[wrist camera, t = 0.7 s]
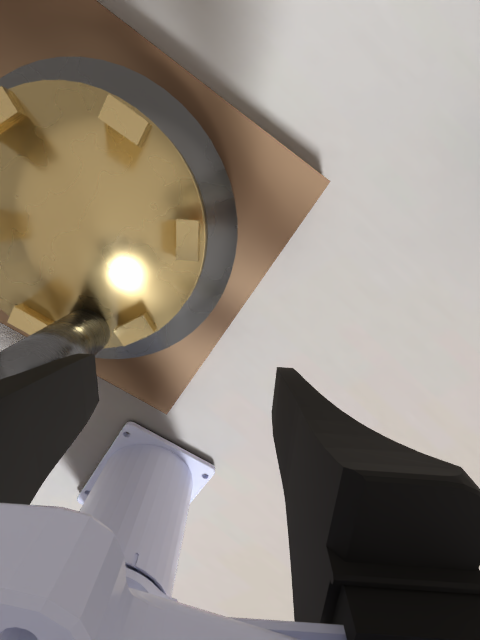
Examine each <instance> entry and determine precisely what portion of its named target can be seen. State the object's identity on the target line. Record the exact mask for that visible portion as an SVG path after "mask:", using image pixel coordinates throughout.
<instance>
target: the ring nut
mask: <svg viewBox="0 0 480 640" xmlns="http://www.w3.org/2000/svg"><path fill="white" fill-rule="evenodd" d="M207 244H208V223H207V216H206V210H205V205H204V201H203V198H202V194H201V191H200V188H199V186H198V183H197V181H196V179H195V176H194V174H193V172H192V170H191V169H190V167H189V165H188V163H187V162H186V160H185V158H184V157H183V155H182V154H181V153H180V151H179V150H178V149H177V147H176V146H175V145H174V143H173V142H172V141H171V140H170V139H169V138H168V137H167V136H166V135H165V134H164V133H163V132H162V131H161V130H160V129H159V128H158V127H157V126H156V125H155V124H154V123H153V122H152V121H151V120H150V119H149V118H148V117H146V116H145V115H144V114H143V113H142V112H140V111H139V110H138V109H137V108H135V107H134V106H132V105H131V104H129V103H127V102H126V101H124V100H123V99H121V98H120V97H118V96H116V95H113V94H111V93H109V92H107V91H105V90H103V89H100V88H97V87H94V86H90V85H87V84H84V83H80V82H73V81H66V80H40V81H34V82H29V83H24V84H21V85H18V86H15V87H13V88H10V89H7V88H5V87H3V86H0V309H1V310H2V311H3V312H5V313H6V314H7V315H9V316H10V317H9V319H8V321H7V322H8V323H9V324H11V325H13V326H15V327H17V328H18V329H20V330H22V331H24V332H26V333H27V334H29V335H30V336H28V337H26V338H24V339H23V340H21V341H19V342H17V343H15V344H14V345H12V346H10V347H8V348H6V349H5V350H3V351H1V352H0V379H3V378H6V377H9V376H12V375H15V374H18V373H21V372H24V371H27V370H30V369H33V368H35V367H38V366H41V365H44V364H46V363H49V362H52V361H55V360H58V359H60V358H63V357H67V356H70V355H74V354H78V353H81V354H95V355H96V354H97V353H99V352H100V351H101V350H102V349H104V348H112V347H119V346H126V345H128V344H131V343H134V342H136V341H139V340H142V339H144V338H146V337H148V336H150V335H151V334H153V333H155V332H157V331H158V330H159V329H161V328H162V327H163V326H164V325H166V324H167V323H168V322H169V321H170V320H171V319H172V318H173V317H174V316H175V315H176V314H177V313H178V312H179V311H180V309H181V308H182V306H183V305H184V304H185V302H186V301H187V300H188V298H189V297H190V295H191V294H192V292H193V290H194V288H195V287H196V285H197V283H198V281H199V278H200V275H201V273H202V270H203V267H204V263H205V258H206V254H207Z"/></svg>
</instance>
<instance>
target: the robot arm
mask: <svg viewBox="0 0 480 640" xmlns="http://www.w3.org/2000/svg"><path fill="white" fill-rule="evenodd" d="M98 402H99V396H98V385H97V374H96V363H95V354H81V353H78V354H74V355H70V356H67V357H63V358H60V359H58V360H55V361H52V362H49V363H46V364H44V365H41V366H38V367H35V368H33V369H30V370H27V371H24V372H21V373H18V374H15V375H12V376H9V377H6V378H3V379H0V640H480V570H479V565H480V489H479V487H478V486H477V485H476V484H475V483H474V482H473V480H472V479H471V478H470V477H469V476H468V475H467V473H466V472H465V471H464V470H463V469H462V468H461V467H459V466H456V465H453V464H451V463H448V462H445V461H442V460H439V459H437V458H434V457H431V456H428V455H425V454H423V453H420V452H418V451H415V450H413V449H411V448H408V447H406V446H404V445H402V444H399V443H397V442H395V441H393V440H391V439H389V438H387V437H385V436H383V435H381V434H379V433H377V432H375V431H373V430H372V429H370V428H368V427H366V426H364V425H363V424H361V423H359V422H358V421H356V420H355V419H353V418H352V417H350V416H349V415H347V414H346V413H344V412H343V411H341V410H340V409H339V408H337V407H336V406H335V405H333V404H332V403H331V402H330V401H328V400H327V399H326V398H325V397H324V396H322V395H321V394H320V393H319V392H318V391H317V390H316V389H314V388H313V387H312V386H311V385H310V384H309V383H308V382H307V381H306V380H305V379H304V378H303V377H302V376H301V375H300V374H299V373H298V372H297V371H296V370H294V369H293V368H282V367H277V372H276V381H275V389H274V398H273V406H272V426H273V437H274V443H275V448H276V453H277V459H278V464H279V469H280V474H281V479H282V484H283V489H284V496H285V503H286V514H287V525H288V536H289V548H290V561H291V574H292V589H293V603H294V619H295V622H292V621H277V620H262V619H247V618H232V617H225V616H222V615H218V614H215V613H212V612H209V611H205V610H202V609H199V608H195V607H192V606H189V605H186V604H182V603H179V602H178V601H177V599H175V598H172V597H171V596H172V591H173V586H174V581H175V576H176V571H177V566H178V561H179V556H180V550H181V545H182V540H183V535H184V530H185V525H186V520H187V515H188V510H189V505H190V503H191V502H192V500H193V499H194V498H195V497H196V495H197V494H198V493H199V492H200V491H201V489H202V488H203V487H204V486H205V485H206V483H207V482H208V481H209V480H210V479H211V477H212V476H213V475H214V473H215V467H214V466H213V465H212V464H210V463H208V462H207V461H205V460H203V459H201V458H199V457H197V456H195V455H194V454H192V453H190V452H188V451H186V450H184V449H182V448H181V447H179V446H177V445H175V444H173V443H171V442H169V441H168V440H166V439H164V438H162V437H160V436H158V435H156V434H155V433H153V432H151V431H149V430H147V429H145V428H143V427H142V426H140V425H138V424H136V423H134V422H127V423H126V424H125V425H124V427H123V428H122V430H121V431H120V433H119V434H118V436H117V437H116V439H115V441H114V442H113V444H112V445H111V447H110V448H109V450H108V451H107V453H106V454H105V456H104V457H103V459H102V460H101V462H100V463H99V465H98V466H97V468H96V469H95V471H94V473H93V474H92V476H91V477H90V479H89V480H88V482H87V483H86V485H85V486H84V488H83V489H82V491H81V492H80V494H79V496H78V497H77V501H78V502H79V503H80V504H82V507H81V509H80V511H75V510H71V509H68V508H64V507H54V506H39V505H30V503H31V501H32V500H33V498H34V496H35V495H36V493H37V492H38V490H39V488H40V487H41V485H42V484H43V482H44V481H45V479H46V478H47V476H48V475H49V473H50V472H51V471H52V469H53V468H54V467H55V465H56V464H57V463H58V461H59V460H60V459H61V457H62V456H63V455H64V453H65V452H66V451H67V449H68V448H69V447H70V445H71V444H72V443H73V441H74V440H75V439H76V437H77V436H78V435H79V433H80V432H81V431H82V429H83V428H84V426H85V425H86V424H87V422H88V420H89V419H90V417H91V415H92V413H93V411H94V409H95V407H96V405H97V404H98ZM126 432H129V433H130V434H127V433H126ZM205 474H207V475H205Z"/></svg>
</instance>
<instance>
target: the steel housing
mask: <svg viewBox="0 0 480 640" xmlns="http://www.w3.org/2000/svg"><path fill="white" fill-rule="evenodd" d="M40 80H66V81H73V82H80V83H84V84H87V85H90V86H94V87H97V88H100V89H103V90H105V91H107V92H109V93H111V94H113V95H116V96H118V97H120V98H121V99H123V100H124V101H126V102H127V103H129V104H131V105H132V106H134V107H135V108H137V109H138V110H139V111H140V112H142V113H143V114H144V115H145V116H146V117H148V118H149V119H150V120H151V121H152V122H153V123H154V124H155V125H156V126H157V127H158V128H159V129H160V130H161V131H162V132H163V133H164V134H165V135H166V136H167V137H168V138H169V139H170V140H171V141H172V142H173V143H174V145H175V146H176V147H177V149H178V150H179V151H180V153H181V154H182V155H183V157H184V158H185V160H186V162H187V163H188V165H189V167H190V169H191V170H192V172H193V174H194V176H195V179H196V181H197V183H198V186H199V188H200V191H201V194H202V198H203V201H204V205H205V210H206V216H207V223H208V244H207V254H206V258H205V263H204V267H203V270H202V273H201V275H200V278H199V281H198V283H197V285H196V287H195V288H194V290H193V292H192V294H191V295H190V297H189V298H188V300H187V301H186V302H185V304H184V305H183V306H182V308H181V309H180V311H179V312H178V313H177V314H176V315H175V316H174V317H173V318H172V319H171V320H170V321H169V322H168V323H167V324H166V325H164V326H163V327H162V328H161V329H159V330H158V331H157V332H155V333H153V334H151V335H150V336H148V337H146V338H144V339H142V340H139V341H136V342H134V343H131V344H128V345H126V346H119V347H112V348H104V349H102V350H101V351H100V352H99V353H97V354H96V355H95V358H102V359H127V358H136V357H141V356H145V355H149V354H153V353H156V352H158V351H161V350H163V349H166V348H168V347H170V346H172V345H174V344H175V343H177V342H179V341H181V340H182V339H184V338H185V337H186V336H188V335H189V334H190V333H192V332H193V331H194V330H195V329H196V328H197V327H198V326H199V325H200V324H201V323H202V322H203V321H205V319H206V318H207V317H208V316H209V314H210V313H211V312H212V310H213V309H214V308H215V306H216V305H217V303H218V301H219V299H220V298H221V296H222V294H223V292H224V290H225V288H226V285H227V283H228V280H229V278H230V275H231V271H232V267H233V264H234V260H235V256H236V248H237V240H238V218H237V210H236V202H235V198H234V194H233V190H232V186H231V183H230V180H229V177H228V175H227V172H226V170H225V167H224V164H223V162H222V160H221V158H220V156H219V154H218V153H217V151H216V149H215V147H214V145H213V143H212V141H211V140H210V138H209V137H208V135H207V134H206V132H205V131H204V130H203V128H202V127H201V125H200V124H199V123H198V121H197V120H196V119H195V118H194V117H193V116H192V115H191V113H190V112H189V111H188V110H187V109H186V108H185V107H184V106H183V105H182V104H181V103H180V102H179V101H178V100H177V99H175V98H174V97H173V96H172V95H171V94H170V93H168V92H167V91H166V90H165V89H164V88H162V87H161V86H159V85H157V84H156V83H154V82H153V81H151V80H150V79H148V78H147V77H145V76H143V75H141V74H139V73H137V72H135V71H133V70H131V69H128V68H126V67H124V66H121V65H118V64H114V63H111V62H108V61H105V60H100V59H94V58H87V57H55V58H49V59H44V60H38V61H35V62H33V63H30V64H27V65H24V66H21V67H19V68H17V69H15V70H13V71H12V72H10V73H8V74H6V75H5V76H3V77H1V78H0V86H3V87H5V88H7V89H10V88H13V87H15V86H18V85H21V84H24V83H29V82H34V81H40ZM8 316H9V315H8Z"/></svg>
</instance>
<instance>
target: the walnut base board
mask: <svg viewBox="0 0 480 640" xmlns="http://www.w3.org/2000/svg"><path fill="white" fill-rule="evenodd" d="M55 57H87V58H94V59H100V60H105V61H108V62H111V63H114V64H118V65H121V66H124V67H126V68H128V69H131V70H133V71H135V72H137V73H139V74H141V75H143V76H145V77H147V78H148V79H150V80H151V81H153V82H154V83H156V84H157V85H159V86H161V87H162V88H164V89H165V90H166V91H167V92H168V93H170V94H171V95H172V96H173V97H174V98H175V99H177V100H178V101H179V102H180V103H181V104H182V105H183V106H184V107H185V108H186V109H187V110H188V111H189V112H190V113H191V115H192V116H193V117H194V118H195V119H196V120H197V121H198V123H199V124H200V125H201V127H202V128H203V130H204V131H205V132H206V134H207V135H208V137H209V138H210V140H211V141H212V143H213V145H214V147H215V149H216V151H217V153H218V154H219V156H220V158H221V160H222V162H223V164H224V167H225V170H226V172H227V175H228V177H229V180H230V183H231V186H232V190H233V194H234V198H235V202H236V210H237V218H238V240H237V248H236V256H235V260H234V264H233V267H232V271H231V275H230V278H229V280H228V283H227V285H226V288H225V290H224V292H223V294H222V296H221V298H220V299H219V301H218V303H217V305H216V306H215V308H214V309H213V310H212V312H211V313H210V314H209V316H208V317H207V318H206V319H205V321H203V322H202V323H201V324H200V325H199V326H198V327H197V328H196V329H195V330H194V331H193V332H192V333H190V334H189V335H188V336H186V337H185V338H184V339H182V340H181V341H179V342H177V343H175V344H174V345H172V346H170V347H168V348H166V349H163V350H161V351H158V352H156V353H153V354H149V355H145V356H141V357H136V358H127V359H102V358H95V363H96V374H97V376H98V377H100V378H102V379H104V380H105V381H107V382H109V383H111V384H113V385H114V386H116V387H118V388H120V389H122V390H123V391H125V392H127V393H129V394H131V395H132V396H134V397H136V398H138V399H140V400H142V401H143V402H145V403H147V404H149V405H151V406H152V407H154V408H156V409H158V410H160V411H161V412H163V413H165V414H168V412H169V411H170V409H171V408H172V406H173V405H174V404H175V402H176V401H177V399H178V398H179V396H180V395H181V394H182V392H183V391H184V389H185V388H186V386H187V385H188V384H189V382H190V381H191V379H192V378H193V376H194V375H195V374H196V372H197V371H198V369H199V368H200V366H201V365H202V364H203V362H204V361H205V359H206V358H207V357H208V355H209V354H210V352H211V351H212V349H213V348H214V347H215V345H216V344H217V342H218V341H219V339H220V338H221V337H222V335H223V334H224V332H225V331H226V329H227V328H228V327H229V325H230V324H231V322H232V321H233V319H234V318H235V317H236V315H237V314H238V312H239V311H240V309H241V308H242V307H243V305H244V304H245V302H246V301H247V299H248V298H249V297H250V295H251V294H252V292H253V291H254V290H255V288H256V287H257V285H258V284H259V282H260V281H261V280H262V278H263V277H264V275H265V274H266V272H267V271H268V270H269V268H270V267H271V265H272V264H273V262H274V261H275V260H276V258H277V257H278V255H279V254H280V252H281V251H282V250H283V248H284V247H285V245H286V244H287V242H288V241H289V240H290V238H291V237H292V235H293V234H294V232H295V231H296V230H297V228H298V227H299V225H300V224H301V223H302V221H303V220H304V218H305V217H306V215H307V214H308V213H309V211H310V210H311V208H312V207H313V205H314V204H315V203H316V201H317V200H318V198H319V197H320V195H321V194H322V193H323V191H324V190H325V188H326V187H327V185H328V184H329V183H330V181H329V180H328V179H327V178H325V177H324V176H323V175H321V174H320V173H319V172H318V171H316V170H315V169H314V168H312V167H311V166H310V165H309V164H307V163H306V162H305V161H303V160H302V159H301V158H299V157H298V156H297V155H296V154H294V153H293V152H292V151H290V150H289V149H288V148H287V147H285V146H284V145H283V144H281V143H280V142H279V141H277V140H276V139H275V138H274V137H272V136H271V135H270V134H268V133H267V132H266V131H265V130H263V129H262V128H261V127H259V126H258V125H257V124H255V123H254V122H253V121H252V120H250V119H249V118H248V117H246V116H245V115H244V114H243V113H241V112H240V111H239V110H237V109H236V108H235V107H233V106H232V105H231V104H230V103H228V102H227V101H226V100H224V99H223V98H222V97H221V96H219V95H218V94H217V93H215V92H214V91H213V90H211V89H210V88H209V87H208V86H206V85H205V84H204V83H202V82H201V81H200V80H199V79H197V78H196V77H195V76H193V75H192V74H191V73H189V72H188V71H187V70H186V69H184V68H183V67H182V66H180V65H179V64H178V63H177V62H175V61H174V60H173V59H171V58H170V57H169V56H167V55H166V54H165V53H164V52H162V51H161V50H160V49H158V48H157V47H156V46H155V45H153V44H152V43H151V42H149V41H148V40H147V39H145V38H144V37H143V36H142V35H140V34H139V33H138V32H136V31H135V30H134V29H132V28H131V27H130V26H129V25H127V24H126V23H125V22H123V21H122V20H121V19H120V18H118V17H117V16H116V15H114V14H113V13H112V12H110V11H109V10H108V9H107V8H105V7H104V6H103V5H101V4H100V3H99V2H98V1H96V0H0V78H1V77H3V76H5V75H6V74H8V73H10V72H12V71H13V70H15V69H17V68H19V67H21V66H24V65H27V64H30V63H33V62H35V61H38V60H44V59H49V58H55ZM9 317H10V316H8V315H7V314H6V313H5V312H3V311H2V310H1V309H0V322H1V323H2V324H4V325H6V326H8V327H10V328H12V329H13V330H15V331H17V332H19V333H21V334H22V335H24V336H26V337H28V336H30V335H29V334H27V333H26V332H24V331H22V330H20V329H18V328H17V327H15V326H13V325H11V324H9V323H8V322H7V321H8V319H9Z"/></svg>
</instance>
